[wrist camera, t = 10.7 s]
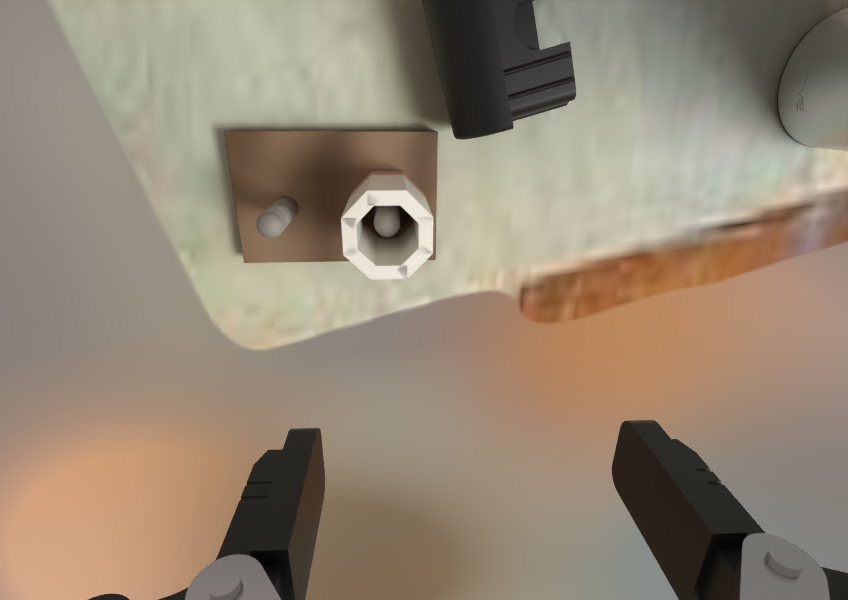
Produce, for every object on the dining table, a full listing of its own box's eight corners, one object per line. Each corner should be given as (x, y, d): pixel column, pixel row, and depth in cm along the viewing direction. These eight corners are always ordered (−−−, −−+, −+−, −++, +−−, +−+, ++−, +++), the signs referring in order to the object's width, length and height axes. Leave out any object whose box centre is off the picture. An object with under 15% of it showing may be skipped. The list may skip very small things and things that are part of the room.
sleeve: (423, 170, 32) (434, 190, 25) (423, 240, 34) (432, 278, 27) (350, 170, 32) (338, 190, 24) (354, 241, 34) (344, 279, 26)
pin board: (435, 131, 32) (447, 137, 26) (433, 253, 36) (444, 288, 29) (231, 130, 32) (188, 137, 25) (249, 256, 35) (217, 292, 28)
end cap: (409, -27, 29) (415, -63, 23) (519, -61, 29) (556, -107, 22) (448, 136, 33) (462, 144, 27) (545, 107, 32) (582, 108, 26)
